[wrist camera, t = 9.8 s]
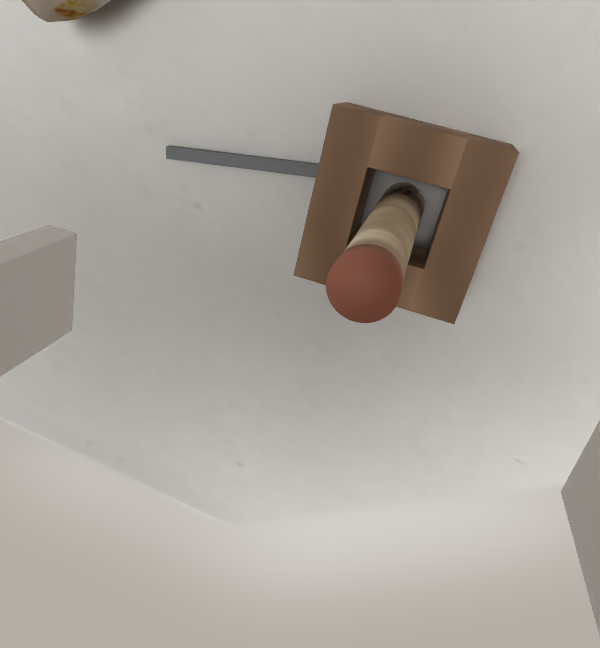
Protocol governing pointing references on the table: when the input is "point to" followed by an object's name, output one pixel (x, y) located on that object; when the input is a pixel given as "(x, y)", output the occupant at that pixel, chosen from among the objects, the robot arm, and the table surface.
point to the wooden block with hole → (415, 163)
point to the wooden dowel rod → (377, 257)
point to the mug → (63, 8)
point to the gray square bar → (242, 161)
